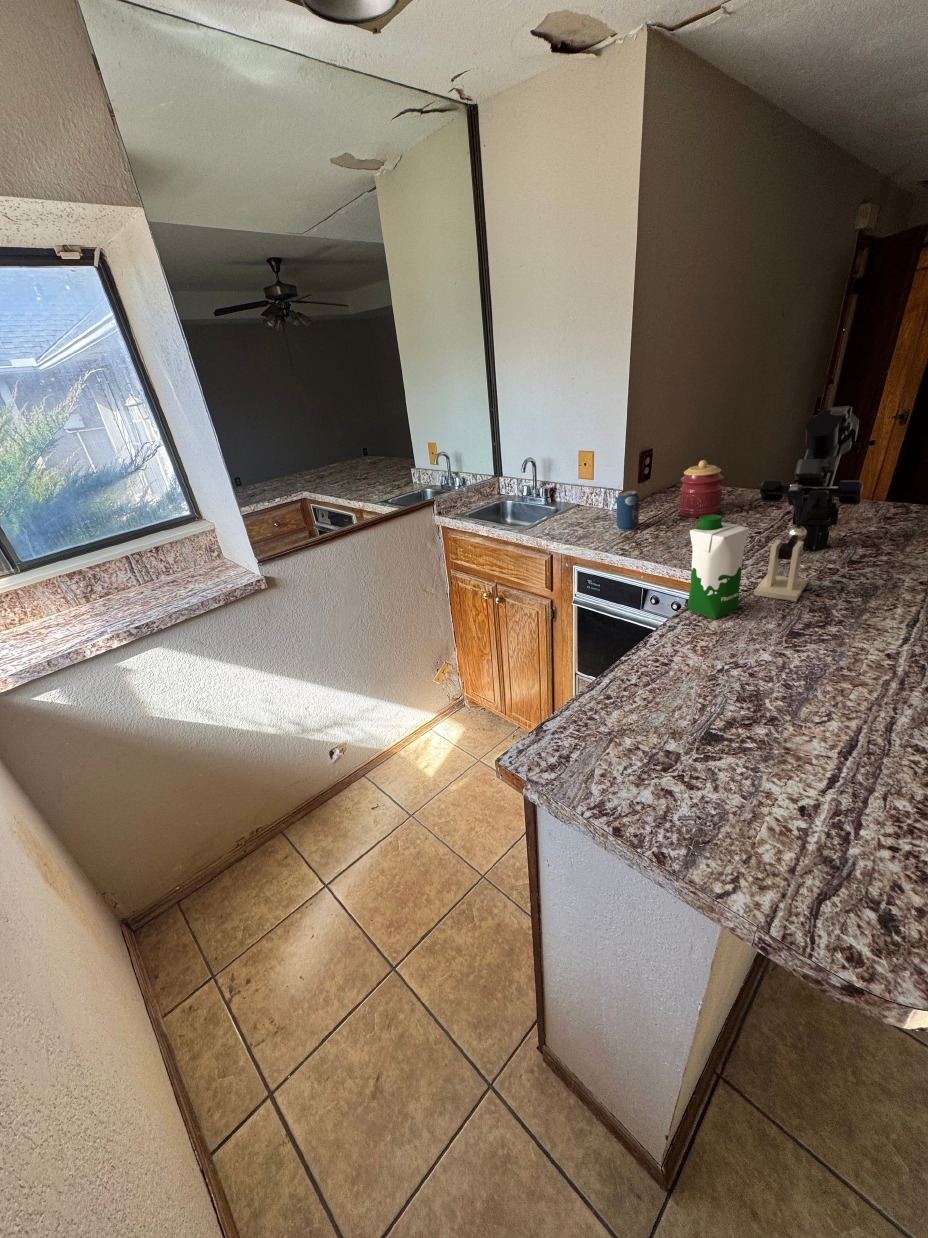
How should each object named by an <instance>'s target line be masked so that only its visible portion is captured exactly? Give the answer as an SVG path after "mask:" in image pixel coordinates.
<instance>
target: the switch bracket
mask: <svg viewBox="0 0 928 1238" xmlns="http://www.w3.org/2000/svg"><path fill="white" fill-rule="evenodd" d="M782 542H783V540H782V539H776V540H775V541H774V542H773V544H771V546H770V547H769V560H768V566H767V567H768V568H767V574H766V575H765V576H764V578H763V579H762V580H761V581H760V583H759V584H758V585H757V586H756V587H755V589H754V591H753V596H759V597H765V598H771V599H777V600H779V599H780V600H785V601H792V602H797V601H798V599H799V598H800V596H801V594H802V593H803V591H804V590H805V588H806V587H807V584H808V579H806V578H799V573H800V566H801V560H802V557H803V556H804V553H805V552H804V551H805V550H804V549H803V544H804V542H802V541H798V542H797V544H796V545H795V546H794V548H793V553H792V557H791V559H790V567H789V572H788V576H781V575H778V569H779V562H780V559H778V556H779V549H780V547H781V546H782V544H783V543H782Z"/></svg>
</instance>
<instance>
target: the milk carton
mask: <svg viewBox="0 0 928 1238" xmlns="http://www.w3.org/2000/svg"><path fill="white" fill-rule="evenodd" d="M749 532H750V527H749V526H742V525H738V524H736V523H729V522H723V516H722V515H719V514H716V515H703V516H701V517H699V523H698V526H697V527H694V528H693V529H690V530H689V535H690V542H691V548H692V553H691V555H692V556H691V569H690V571H691V572H690V584H689V585H690V587H689V593H688V600H687V607H686V609H687V610H689V611H692V612H695V613H698V614H701V615H703V616H705V617H709V618H711V619H714V620H717V619H720V618H721V617H724V616H727V615H728V614H730V613H732V612H735V611H736V610H739V602H740V601H739V599H740V586H741V577H742V570H743V561H744V553H745V547H746V543H747V539H748V536H749Z"/></svg>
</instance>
